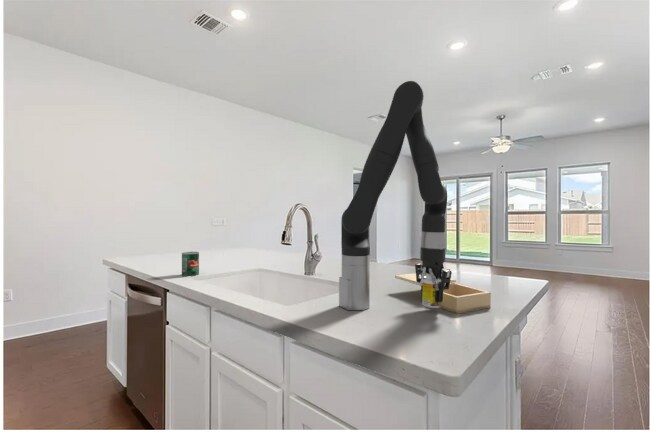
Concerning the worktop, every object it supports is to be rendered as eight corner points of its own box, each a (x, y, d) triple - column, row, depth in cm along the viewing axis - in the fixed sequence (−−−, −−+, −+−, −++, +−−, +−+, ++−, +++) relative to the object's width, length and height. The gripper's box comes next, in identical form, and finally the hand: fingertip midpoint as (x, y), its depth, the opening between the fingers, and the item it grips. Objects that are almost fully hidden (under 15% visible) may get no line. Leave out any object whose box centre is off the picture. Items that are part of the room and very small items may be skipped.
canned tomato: (195, 276, 155) (195, 253, 155) (178, 276, 155) (178, 253, 155) (201, 273, 163) (201, 251, 163) (186, 273, 163) (185, 251, 163)
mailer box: (456, 313, 100) (456, 297, 100) (422, 301, 114) (422, 287, 113) (490, 307, 106) (490, 292, 106) (454, 296, 120) (454, 283, 120)
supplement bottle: (432, 309, 99) (433, 276, 99) (418, 304, 103) (419, 272, 103) (444, 306, 102) (445, 274, 102) (430, 302, 106) (430, 271, 106)
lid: (422, 286, 113) (422, 272, 113) (395, 277, 127) (395, 265, 127) (455, 282, 120) (455, 268, 120) (426, 274, 134) (426, 262, 134)
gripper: (408, 244, 107) (407, 295, 108) (440, 249, 94) (438, 307, 94) (426, 243, 110) (425, 293, 111) (459, 248, 97) (458, 304, 97)
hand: (431, 299), depth 103 cm, fingers closed on supplement bottle, 5 cm apart
